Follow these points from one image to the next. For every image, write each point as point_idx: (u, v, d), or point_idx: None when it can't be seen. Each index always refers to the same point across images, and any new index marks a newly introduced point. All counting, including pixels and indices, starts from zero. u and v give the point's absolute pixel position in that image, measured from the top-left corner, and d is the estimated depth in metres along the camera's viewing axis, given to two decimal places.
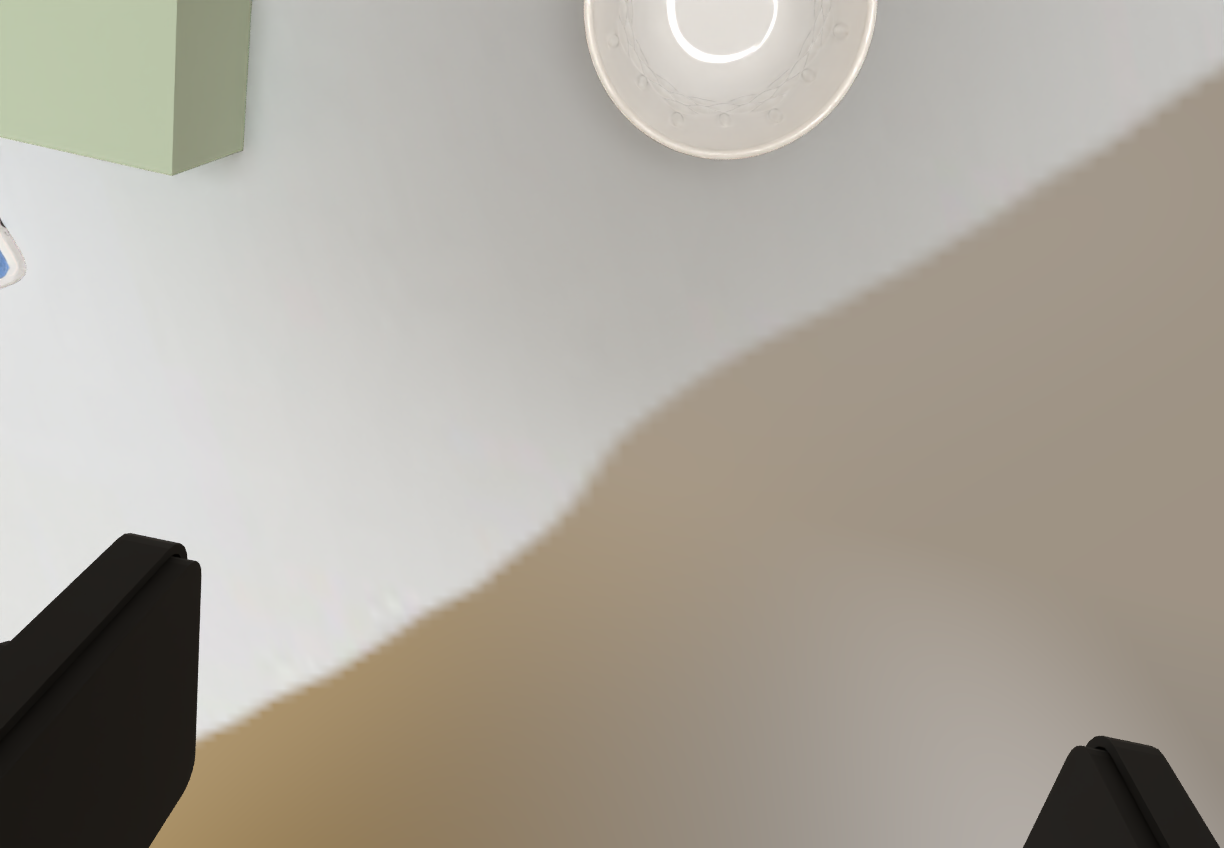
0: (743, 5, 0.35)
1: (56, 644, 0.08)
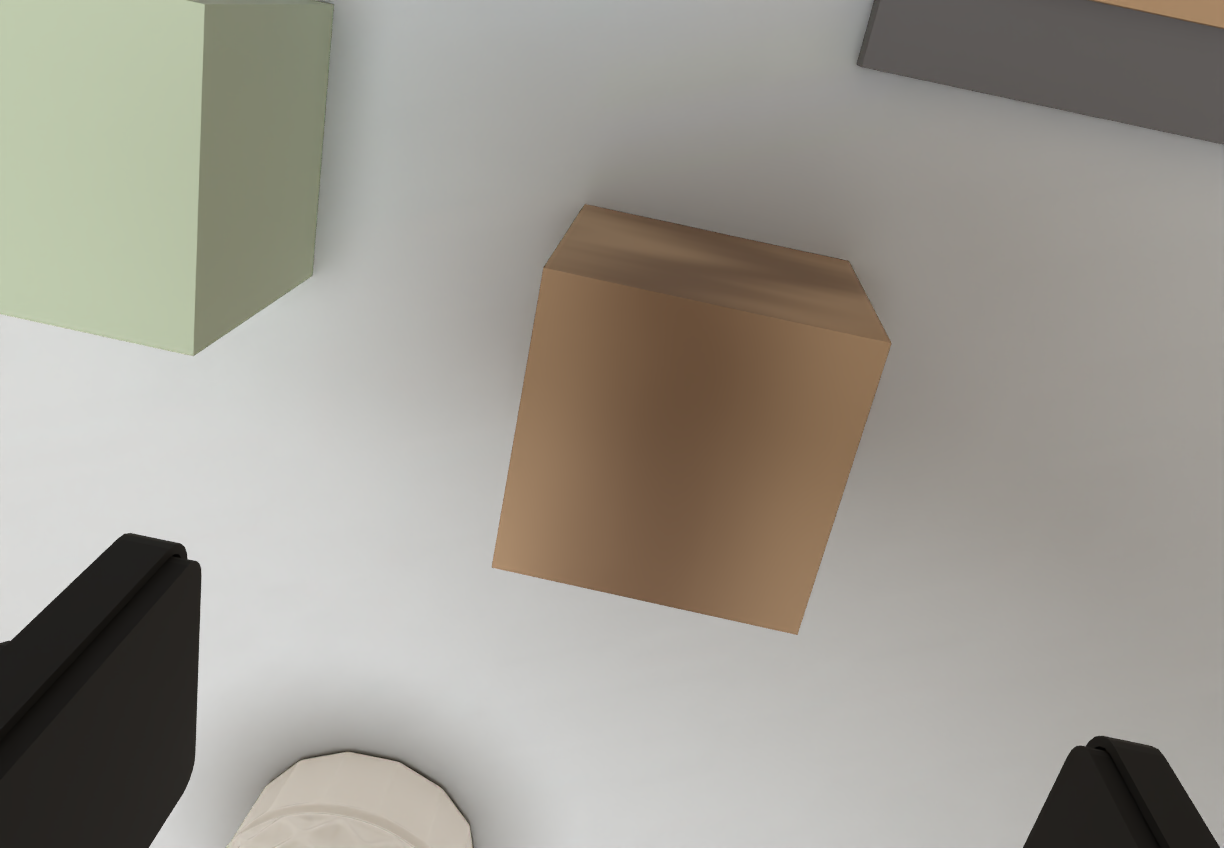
0: None
1: (57, 644, 0.08)
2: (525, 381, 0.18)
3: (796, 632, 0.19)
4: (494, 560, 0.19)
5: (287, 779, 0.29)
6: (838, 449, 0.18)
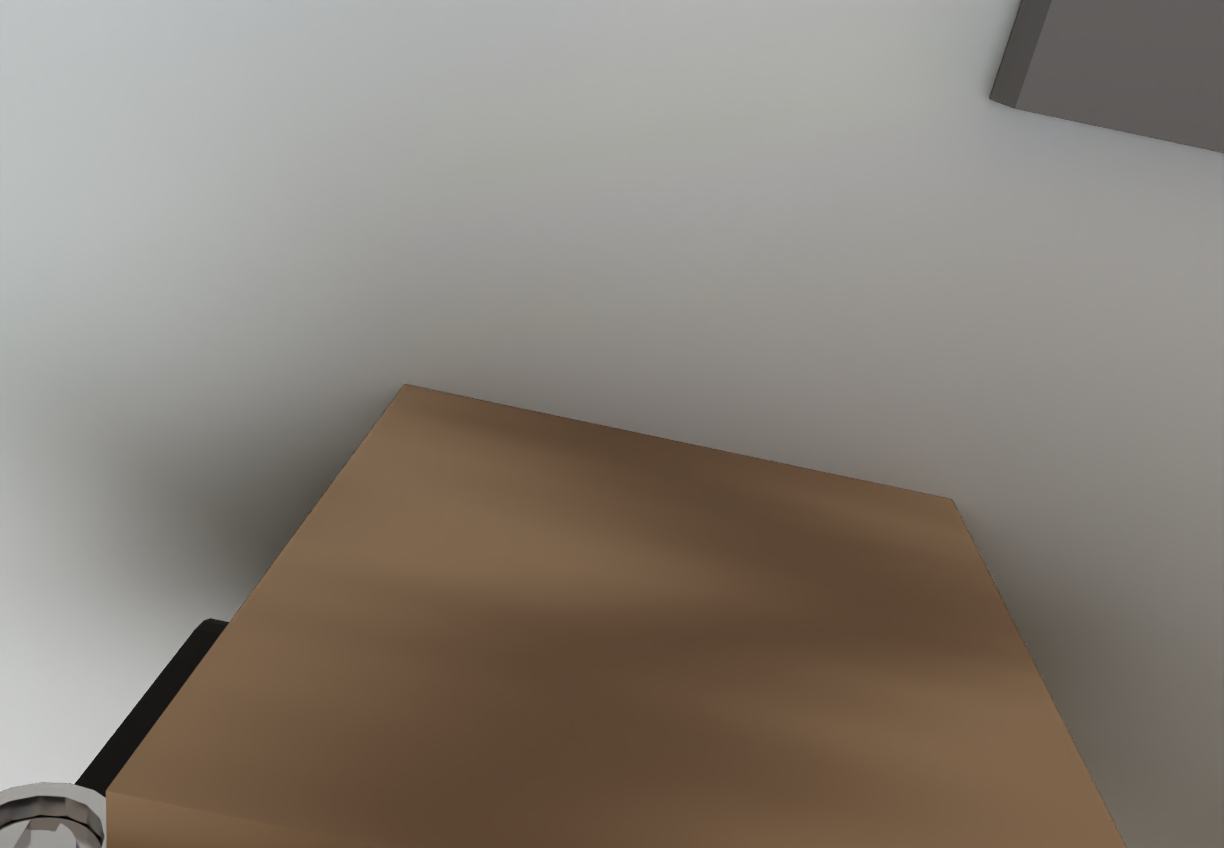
0: None
1: None
2: None
3: None
4: None
5: None
6: None
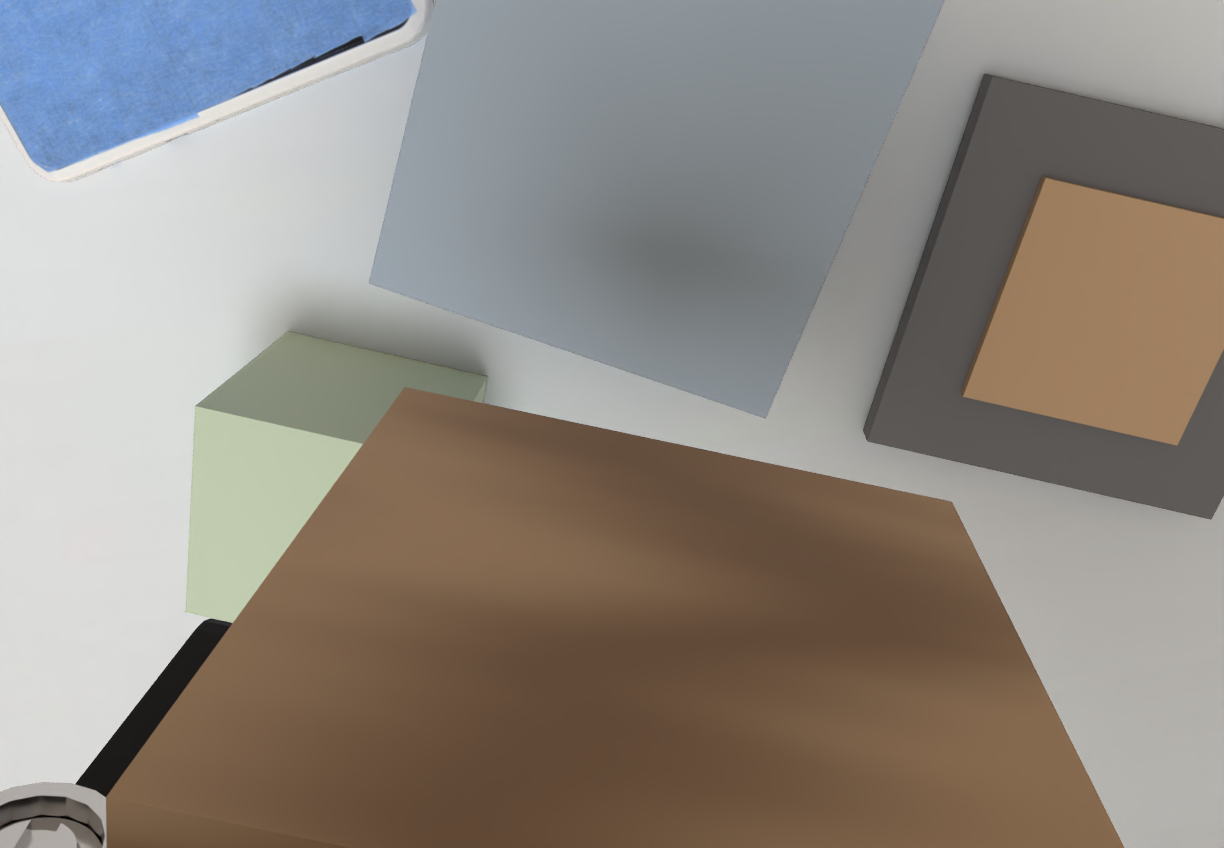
0: None
1: None
2: None
3: None
4: None
5: None
6: None
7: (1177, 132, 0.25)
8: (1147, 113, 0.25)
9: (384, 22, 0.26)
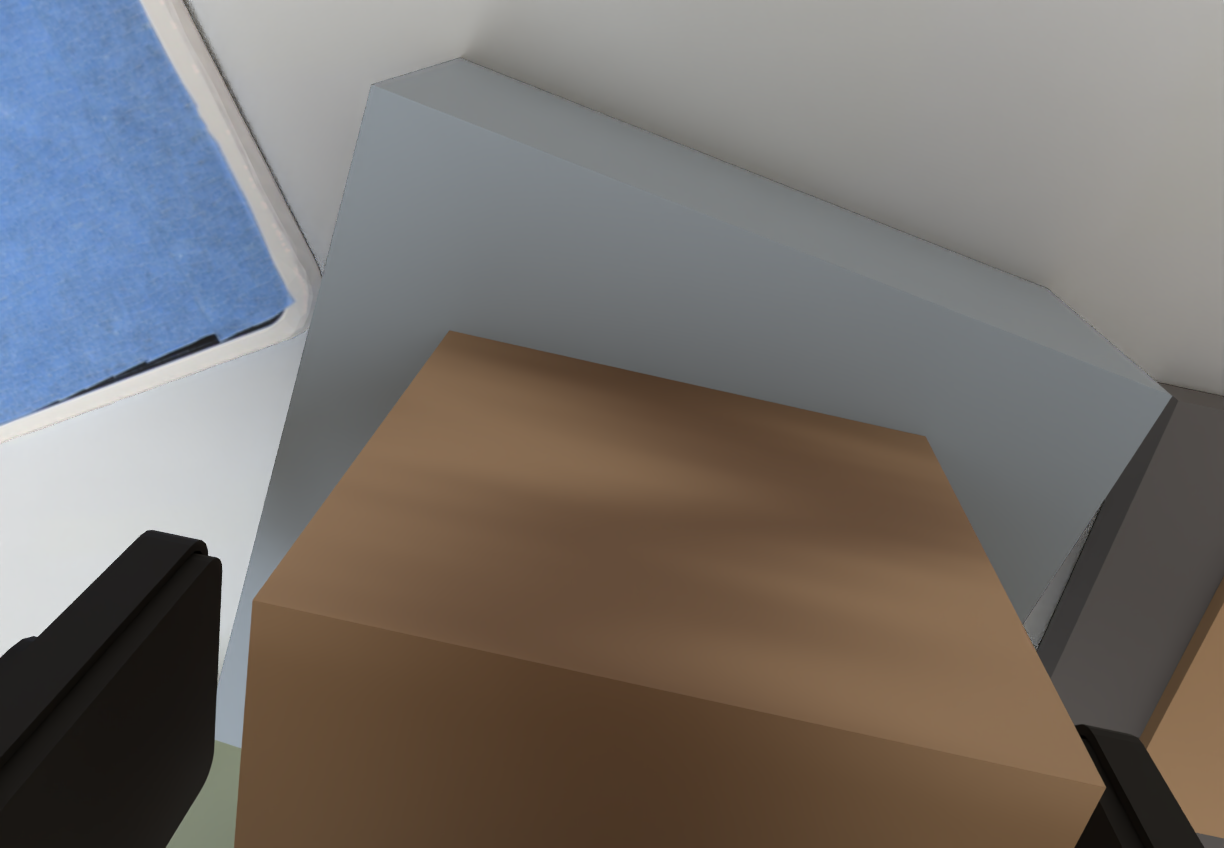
0: None
1: (84, 639, 0.08)
2: (238, 828, 0.08)
3: None
4: None
5: None
6: None
7: None
8: None
9: (246, 316, 0.17)
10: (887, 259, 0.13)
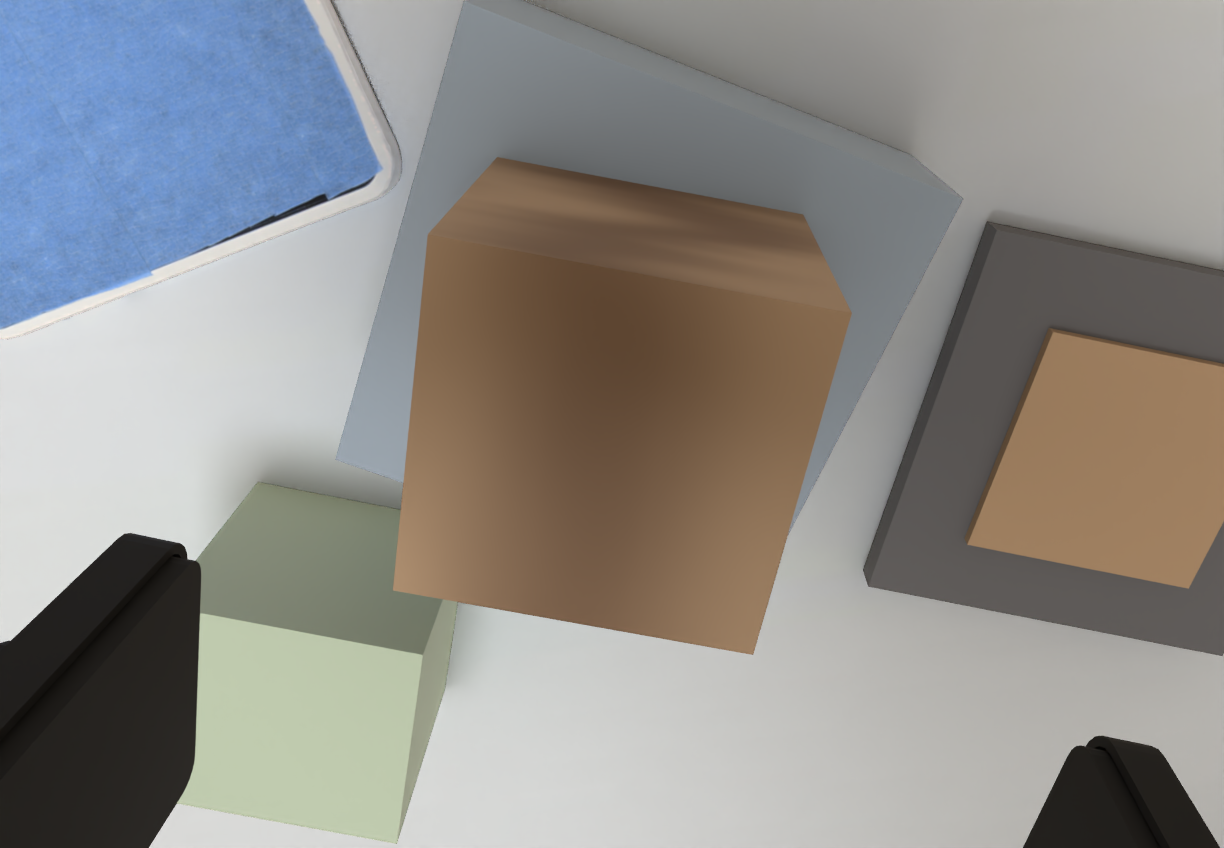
0: None
1: (56, 644, 0.08)
2: (415, 372, 0.15)
3: (752, 652, 0.17)
4: (395, 582, 0.16)
5: None
6: (792, 441, 0.15)
7: (1190, 283, 0.24)
8: (1159, 265, 0.23)
9: (348, 180, 0.24)
10: (790, 120, 0.20)
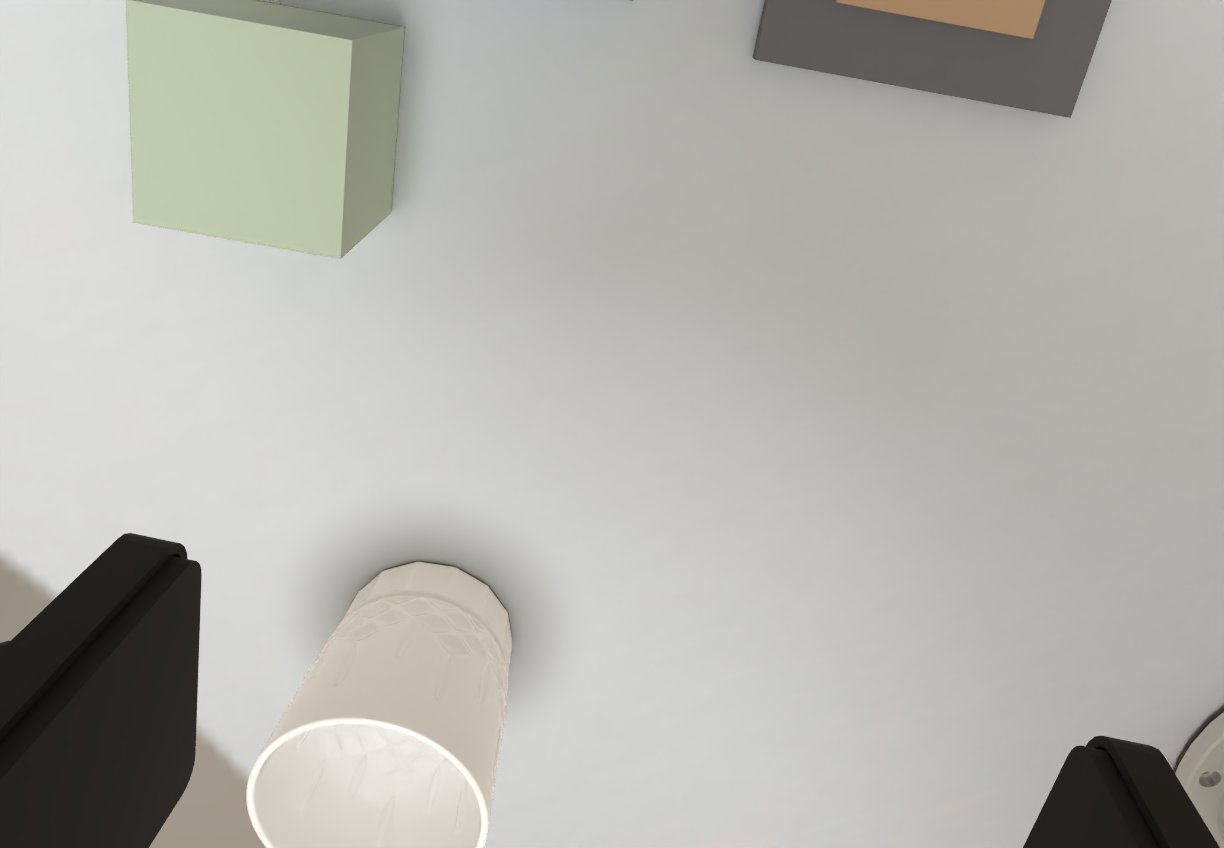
0: None
1: (56, 644, 0.08)
2: None
3: None
4: None
5: (376, 581, 0.40)
6: None
7: None
8: None
9: None
10: None
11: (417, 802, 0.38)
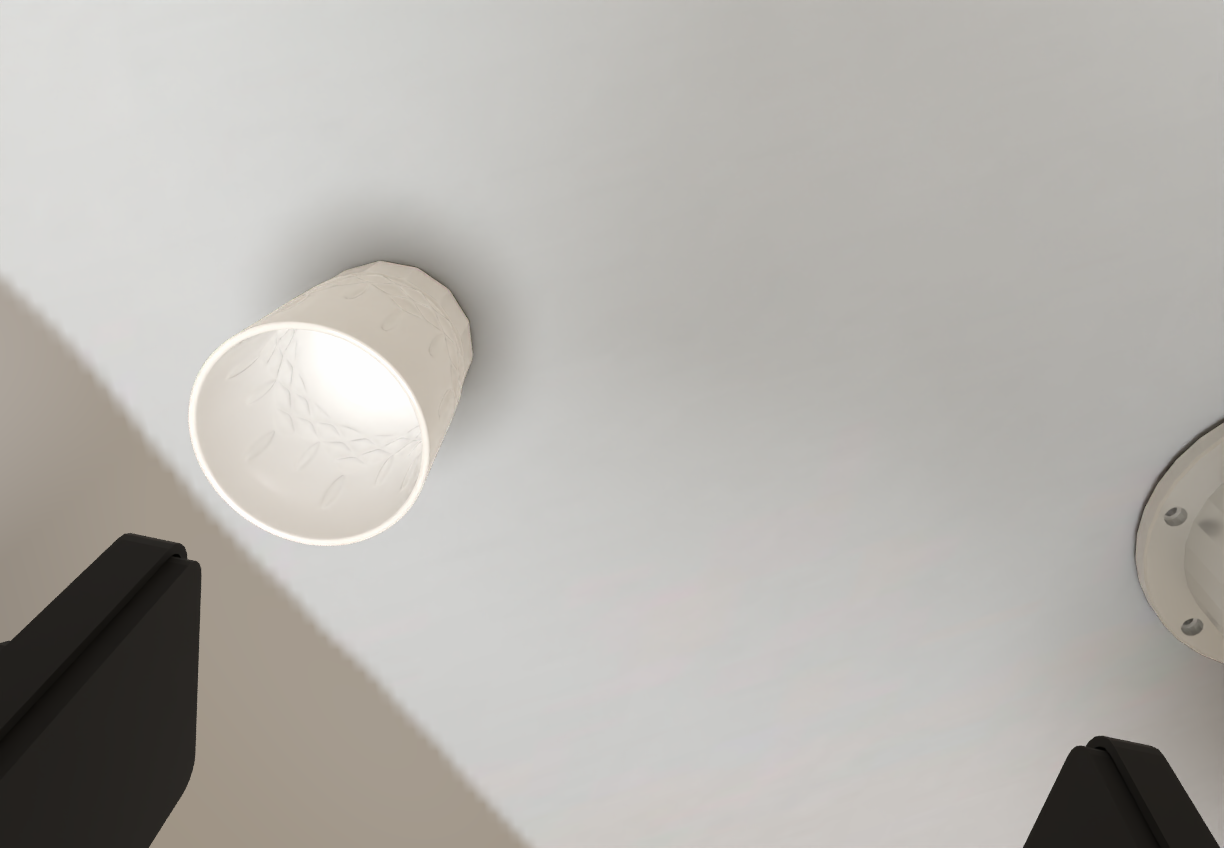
0: (383, 371, 0.40)
1: (56, 644, 0.08)
2: None
3: None
4: None
5: (337, 275, 0.40)
6: None
7: None
8: None
9: None
10: None
11: (366, 480, 0.37)
